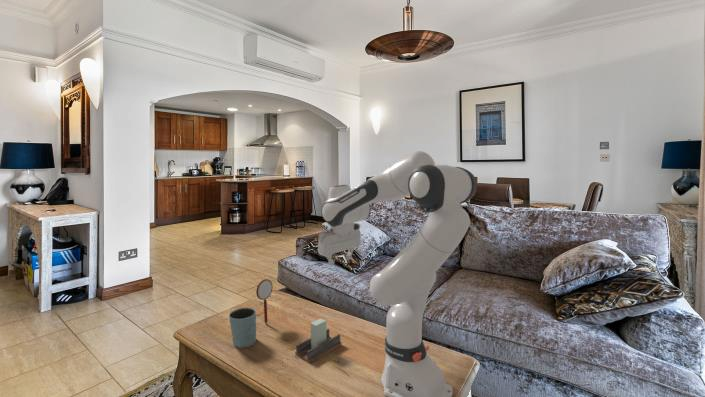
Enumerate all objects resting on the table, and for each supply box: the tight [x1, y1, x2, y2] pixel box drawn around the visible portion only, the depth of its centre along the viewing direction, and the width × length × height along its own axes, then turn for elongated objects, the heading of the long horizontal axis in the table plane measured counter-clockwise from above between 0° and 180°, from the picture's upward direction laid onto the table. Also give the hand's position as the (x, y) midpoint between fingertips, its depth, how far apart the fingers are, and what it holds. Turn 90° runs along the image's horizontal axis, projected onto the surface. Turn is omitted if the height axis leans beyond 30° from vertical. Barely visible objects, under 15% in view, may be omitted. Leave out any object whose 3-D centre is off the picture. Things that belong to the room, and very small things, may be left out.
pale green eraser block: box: [310, 318, 327, 349], centre depth 131 cm, size 3×5×10 cm, turn 137°
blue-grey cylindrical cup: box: [228, 307, 257, 349], centre depth 137 cm, size 10×10×12 cm
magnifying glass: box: [255, 278, 274, 325], centre depth 150 cm, size 9×2×20 cm, turn 146°
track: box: [294, 328, 342, 364], centre depth 131 cm, size 8×16×4 cm, turn 137°
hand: (340, 261), depth 136 cm, fingers open, 8 cm apart
